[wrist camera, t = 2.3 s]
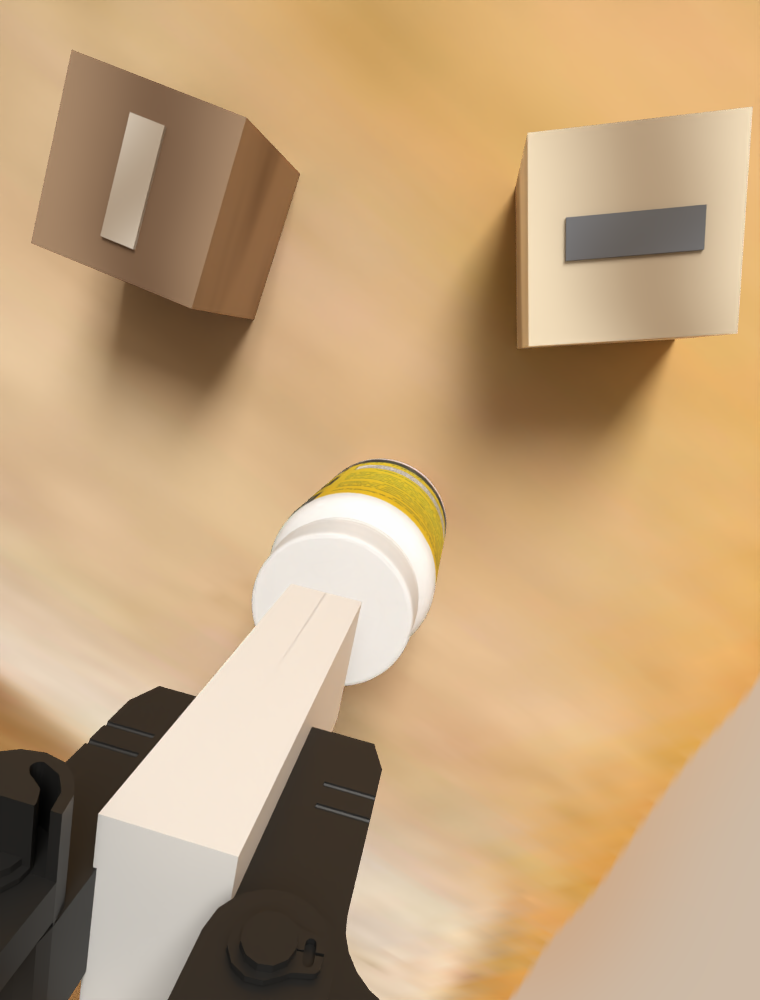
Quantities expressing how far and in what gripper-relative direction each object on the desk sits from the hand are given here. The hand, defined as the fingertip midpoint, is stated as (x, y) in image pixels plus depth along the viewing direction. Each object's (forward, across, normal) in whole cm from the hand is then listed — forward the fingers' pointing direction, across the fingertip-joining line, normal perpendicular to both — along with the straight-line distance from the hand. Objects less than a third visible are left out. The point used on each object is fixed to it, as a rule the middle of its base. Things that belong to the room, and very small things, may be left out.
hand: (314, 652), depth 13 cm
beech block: (+11, +5, +10) cm, 15 cm away
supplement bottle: (+11, 0, 0) cm, 11 cm away
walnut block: (+10, -8, +9) cm, 16 cm away
